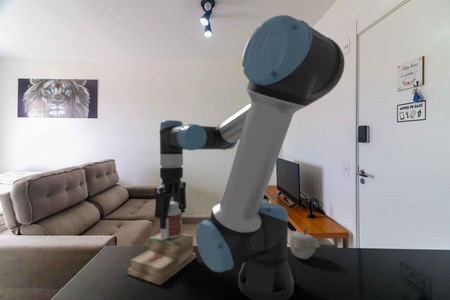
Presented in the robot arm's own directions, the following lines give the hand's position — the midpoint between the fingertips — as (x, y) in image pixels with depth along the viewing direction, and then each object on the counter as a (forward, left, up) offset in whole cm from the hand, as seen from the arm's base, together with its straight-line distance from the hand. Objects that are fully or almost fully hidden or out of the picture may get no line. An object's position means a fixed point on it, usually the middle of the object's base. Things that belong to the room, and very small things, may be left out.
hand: (171, 234), depth 80 cm
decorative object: (-40, -22, -9) cm, 46 cm away
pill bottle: (0, 0, -1) cm, 1 cm away
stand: (0, +4, -9) cm, 10 cm away
